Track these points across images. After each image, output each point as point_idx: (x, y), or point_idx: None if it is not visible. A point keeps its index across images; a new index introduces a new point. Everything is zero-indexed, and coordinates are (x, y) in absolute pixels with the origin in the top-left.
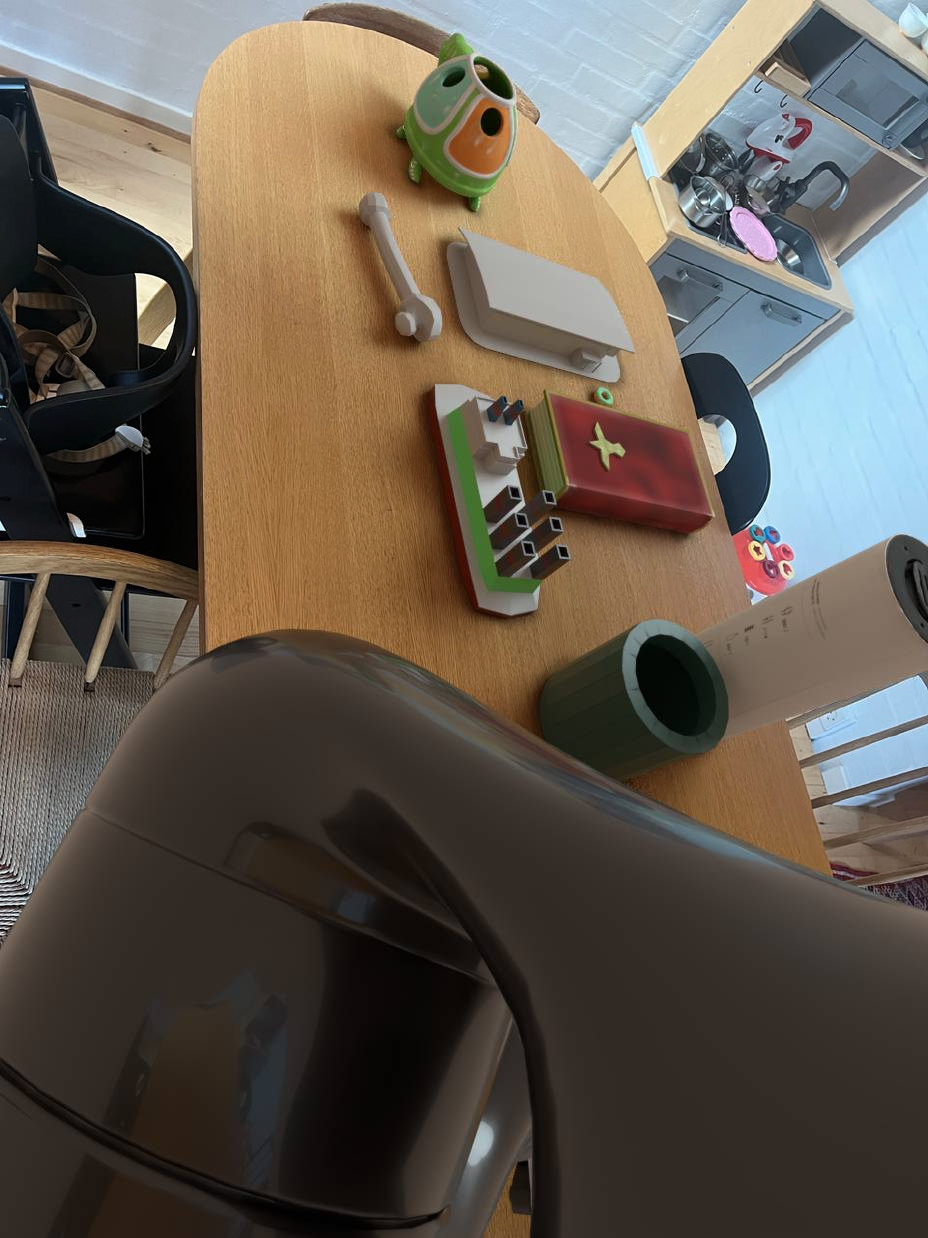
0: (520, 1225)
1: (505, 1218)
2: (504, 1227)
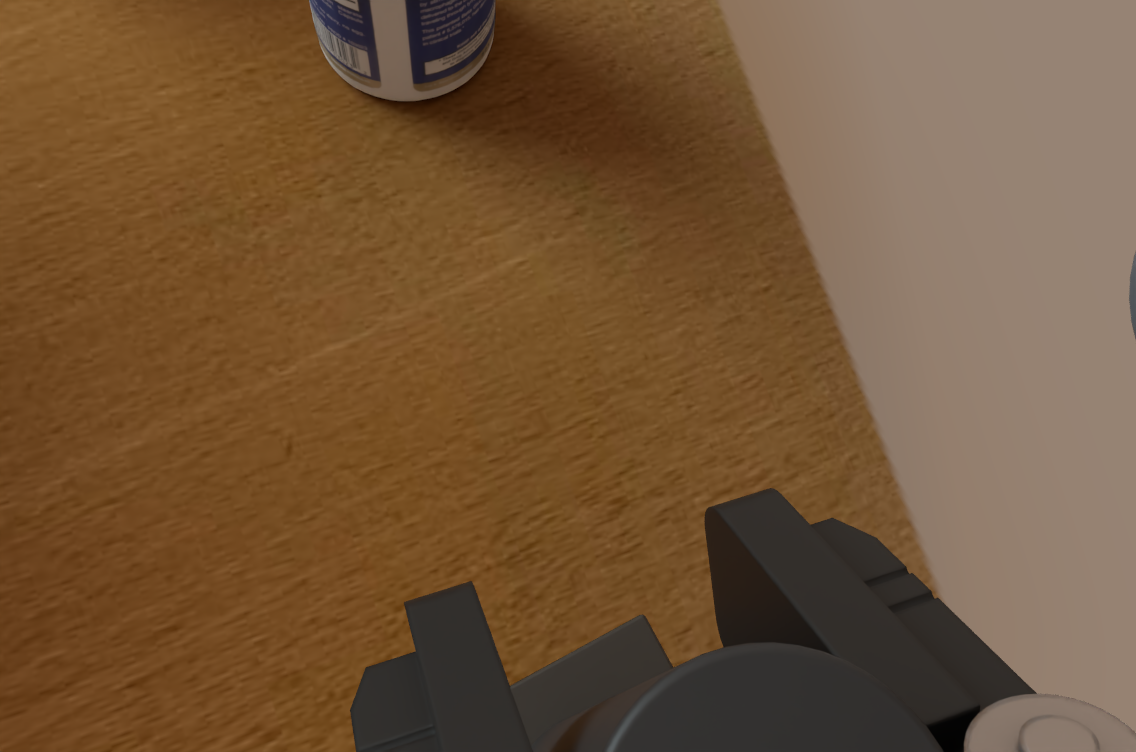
0: (832, 322)
1: (835, 362)
2: (850, 360)
